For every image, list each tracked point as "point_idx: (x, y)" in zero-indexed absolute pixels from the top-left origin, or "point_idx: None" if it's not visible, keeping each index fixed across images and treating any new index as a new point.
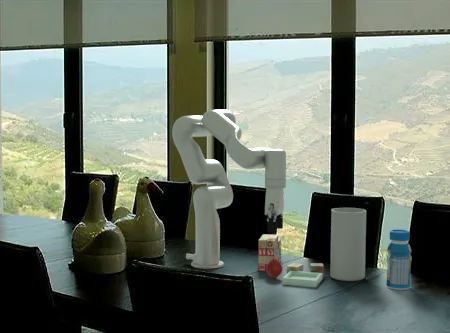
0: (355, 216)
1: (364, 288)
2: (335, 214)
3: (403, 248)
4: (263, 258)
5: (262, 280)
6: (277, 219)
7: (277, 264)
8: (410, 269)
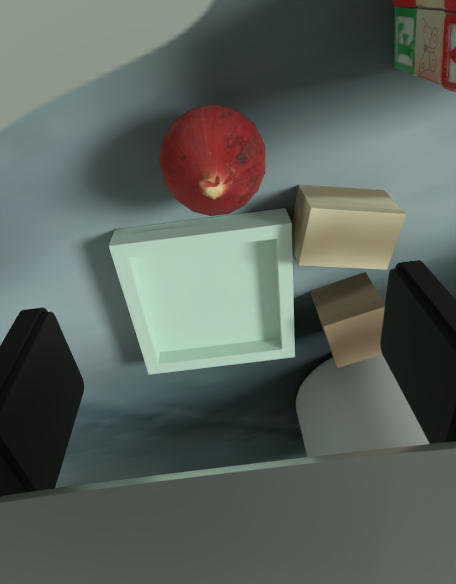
0: None
1: (224, 456)
2: None
3: None
4: None
5: (139, 93)
6: (441, 392)
7: (190, 206)
8: None
